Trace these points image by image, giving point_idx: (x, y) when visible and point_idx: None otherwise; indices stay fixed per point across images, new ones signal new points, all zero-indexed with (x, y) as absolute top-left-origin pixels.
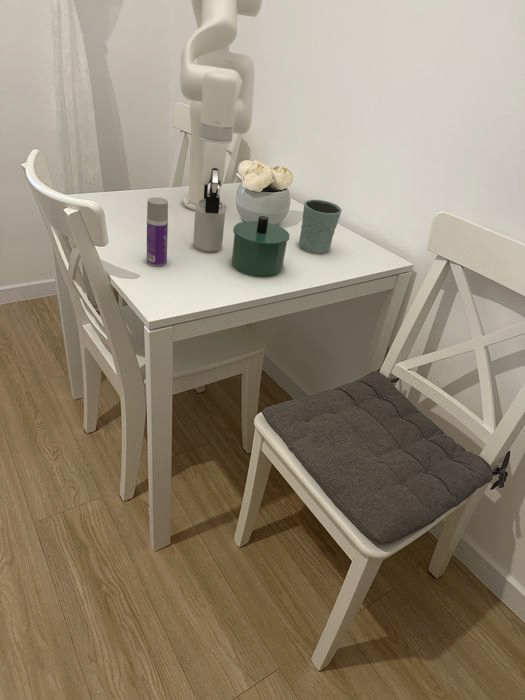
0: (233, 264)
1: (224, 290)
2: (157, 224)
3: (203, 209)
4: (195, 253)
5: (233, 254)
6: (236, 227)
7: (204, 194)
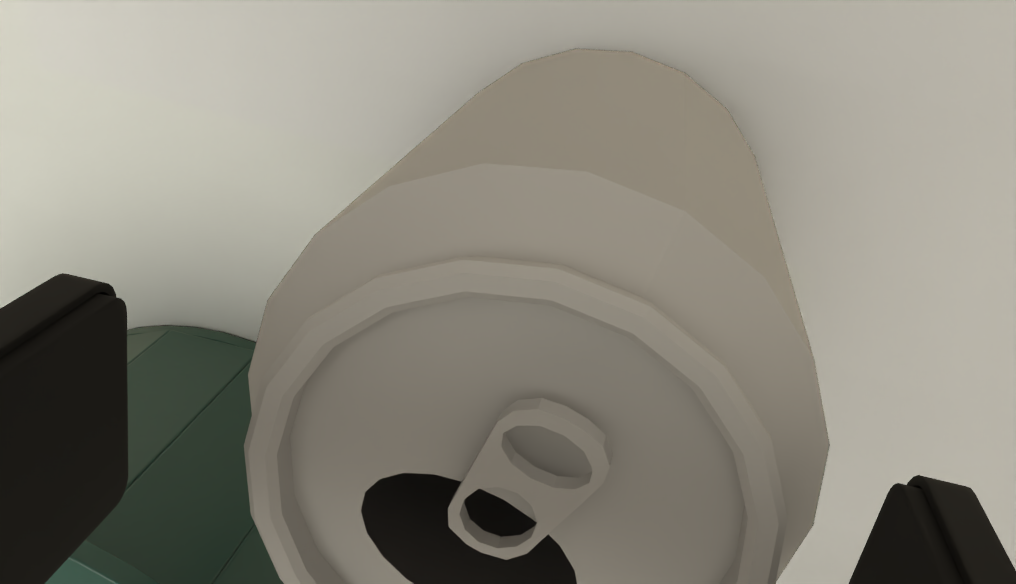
0: (151, 334)
1: None
2: None
3: (322, 291)
4: (443, 33)
5: None
6: (61, 581)
7: (954, 551)
